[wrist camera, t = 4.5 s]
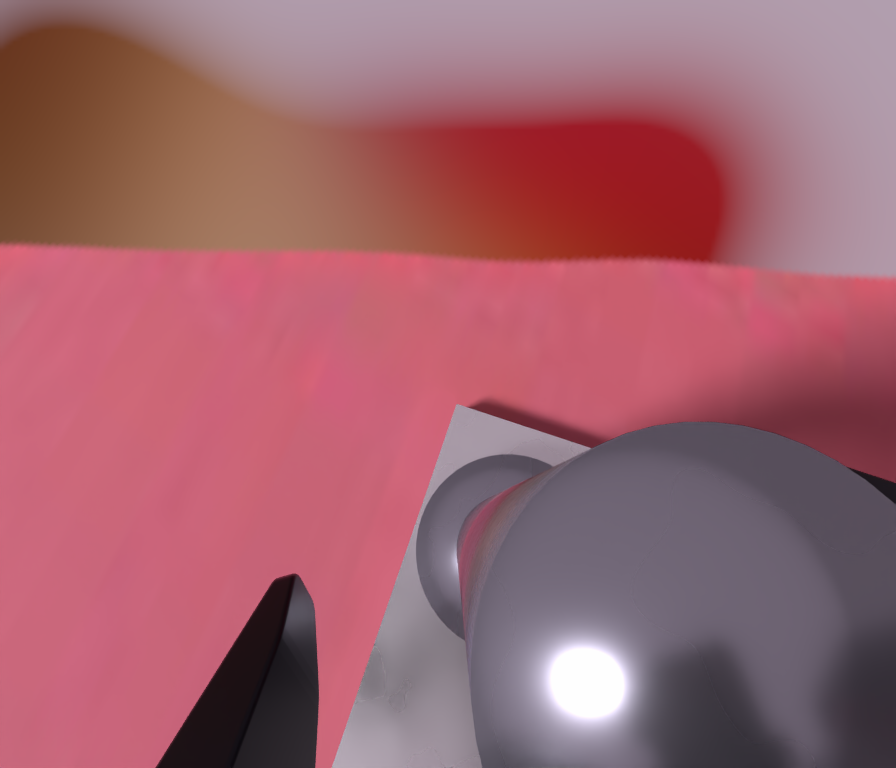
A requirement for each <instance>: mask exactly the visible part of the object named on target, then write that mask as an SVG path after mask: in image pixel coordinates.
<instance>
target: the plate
mask: <svg viewBox="0 0 896 768" xmlns="http://www.w3.org/2000/svg"><path fill="white" fill-rule="evenodd" d="M589 449H591V448H589V447H586V446H583V445H580V444H577V443H574V442H571V441H568V440H565V439H562V438H559V437H556V436H553V435H550V434H547V433H544V432H541V431H538V430H534V429H531V428H528V427H525V426H522V425H519V424H516V423H513V422H510V421H507V420H504V419H501V418H498V417H495V416H492V415H489V414H486V413H483V412H480V411H477V410H474V409H471V408H468V407H464V406H461V405H458V404H457V405H456V408H455V411H454V414H453V416H452V419H451V422H450V425H449V428H448V431H447V434H446V437H445V440H444V443H443V446H442V449H441V451H440V454H439V457H438V460H437V463H436V466H435V469H434V472H433V475H432V478H431V481H430V483H429V486H428V489H427V492H426V495H425V498H424V501H423V504H422V507H421V510H420V513H419V515H418V518H417V521H416V524H415V527H414V530H413V533H412V536H411V539H410V542H409V545H408V547H407V550H406V553H405V556H404V559H403V562H402V565H401V568H400V571H399V574H398V577H397V580H396V582H395V585H394V588H393V591H392V594H391V597H390V600H389V603H388V606H387V609H386V612H385V614H384V617H383V620H382V623H381V626H380V629H379V632H378V635H377V638H376V641H375V644H374V646H373V649H372V652H371V655H370V658H369V661H368V664H367V667H366V670H365V673H364V676H363V678H362V681H361V684H360V687H359V690H358V693H357V696H356V699H355V702H354V705H353V708H352V710H351V713H350V716H349V719H348V722H347V725H346V728H345V731H344V734H343V737H342V740H341V743H340V745H339V748H338V751H337V754H336V757H335V760H334V763H333V766H332V768H482V764H481V760H480V755H479V751H478V747H477V743H476V736H475V728H474V720H473V712H472V704H471V695H470V685H469V675H468V665H467V654H466V644H465V641H464V640H463V639H461V638H460V637H458V636H457V635H456V634H455V633H454V632H452V631H451V630H450V629H449V628H448V627H447V626H446V625H445V624H444V623H443V622H442V621H441V620H440V618H439V617H438V616H437V614H436V613H435V611H434V610H433V609H432V607H431V605H430V603H429V601H428V600H427V598H426V596H425V593H424V591H423V588H422V585H421V583H420V579H419V574H418V570H417V562H416V540H417V533H418V528H419V524H420V521H421V517H422V515H423V512H424V510H425V507H426V505H427V504H428V502H429V500H430V498H431V497H432V495H433V494H434V492H435V491H436V490H437V488H438V487H439V486H440V485H441V484H442V483H443V482H444V481H445V480H446V479H447V478H448V477H449V476H450V475H451V474H452V473H454V472H455V471H456V470H458V469H459V468H461V467H463V466H464V465H466V464H468V463H470V462H473V461H475V460H477V459H480V458H484V457H488V456H493V455H501V454H515V455H522V456H527V457H531V458H535V459H538V460H541V461H543V462H545V463H548V464H550V465H551V466H553V467H554V466H556V465H558V464H560V463H562V462H564V461H566V460H569V459H571V458H573V457H575V456H577V455H579V454H581V453H583V452H585V451H587V450H589Z"/></svg>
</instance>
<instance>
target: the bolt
mask: <svg viewBox="0 0 896 768" xmlns="http://www.w3.org/2000/svg"><path fill="white" fill-rule="evenodd" d="M416 562H417V570H418V574H419V579H420V583H421V585H422V588H423V591H424V593H425V596H426V598H427V600H428V601H429V603H430V605H431V607H432V609H433V610H434V611H435V613H436V614H437V616H438V617H439V618H440V620H441V621H442V622H443V623H444V624H445V625H446V626H447V627H448V628H449V629H450V630H451V631H452V632H454V633H455V634H456V635H457V636H458V637H460V638H461V639H463V640H464V641H465V644H466V654H467V665H468V675H469V685H470V695H471V704H472V712H473V720H474V728H475V736H476V743H477V747H478V751H479V755H480V760H481V764H482V768H896V505H895V504H894V503H893V502H892V501H891V500H890V499H888V498H887V497H886V496H885V495H884V494H882V493H881V492H880V491H879V490H877V489H876V488H875V487H874V486H873V485H871V484H870V483H869V482H868V481H866V480H865V479H864V478H862V477H861V476H859V475H858V474H856V473H854V472H853V471H851V470H850V469H848V468H847V467H845V466H844V465H842V464H841V463H839V462H838V461H836V460H834V459H832V458H830V457H828V456H826V455H824V454H823V453H821V452H819V451H817V450H815V449H813V448H811V447H809V446H807V445H804V444H802V443H799V442H797V441H794V440H791V439H789V438H786V437H783V436H781V435H778V434H775V433H771V432H767V431H763V430H759V429H755V428H751V427H747V426H742V425H734V424H726V423H718V422H679V423H672V424H664V425H657V426H652V427H648V428H644V429H641V430H637V431H633V432H630V433H626V434H623V435H621V436H619V437H616V438H614V439H612V440H609V441H607V442H605V443H602V444H600V445H598V446H596V447H594V448H591V449H589V450H587V451H585V452H583V453H581V454H579V455H577V456H575V457H573V458H571V459H569V460H566V461H564V462H562V463H560V464H558V465H556V466H554V467H553V466H551V465H550V464H548V463H545V462H543V461H541V460H538V459H535V458H531V457H527V456H522V455H515V454H501V455H493V456H488V457H484V458H480V459H477V460H475V461H473V462H470V463H468V464H466V465H464V466H463V467H461V468H459V469H458V470H456V471H455V472H454V473H452V474H451V475H450V476H449V477H448V478H447V479H446V480H445V481H444V482H443V483H442V484H441V485H440V486H439V487H438V488H437V490H436V491H435V492H434V494H433V495H432V497H431V498H430V500H429V502H428V504H427V505H426V507H425V510H424V512H423V515H422V517H421V521H420V524H419V528H418V533H417V540H416Z"/></svg>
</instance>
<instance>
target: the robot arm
mask: <svg viewBox="0 0 896 768" xmlns="http://www.w3.org/2000/svg"><path fill="white" fill-rule="evenodd" d="M847 468H848V467H847ZM848 469H850V470H851V471H853V472H854V473H856V474H858V475H859V476H861V477H862V478H864V479H865V480H866V481H868V482H869V483H870V484H871V485H873V486H874V487H875V488H876V489H877V490H879V491H880V492H881V493H882V494H884V495H885V496H886V497H887V498H888V499H890V500H891V501H892V502H893V503H894V504H895V505H896V483H894V482H891V481H888V480H885V479H882V478H879V477H876V476H873V475H870V474H867V473H864V472H861V471H858V470H855V469H851V468H848ZM318 705H319V685H318V663H317V644H316V624H315V609H314V604H313V600H312V598H311V596H310V594H309V593H308V591H307V589H306V587H305V585H304V583H303V582H302V580H301V578H300V577H299V575H297V574H290V575H286V576H283V577H279V578H277V579H275V580H274V581H273V582H272V584H271V585H270V587H269V588H268V590H267V592H266V593H265V595H264V596H263V598H262V600H261V601H260V603H259V604H258V606H257V607H256V609H255V611H254V612H253V614H252V615H251V617H250V619H249V620H248V622H247V623H246V625H245V627H244V628H243V630H242V631H241V633H240V634H239V636H238V638H237V639H236V641H235V642H234V644H233V646H232V647H231V649H230V650H229V652H228V654H227V655H226V657H225V658H224V660H223V662H222V663H221V665H220V666H219V668H218V669H217V671H216V673H215V674H214V676H213V677H212V679H211V681H210V682H209V684H208V685H207V687H206V689H205V690H204V692H203V693H202V695H201V696H200V698H199V700H198V701H197V703H196V704H195V706H194V708H193V709H192V711H191V712H190V714H189V716H188V717H187V719H186V720H185V722H184V723H183V725H182V727H181V728H180V730H179V731H178V733H177V735H176V736H175V738H174V739H173V741H172V743H171V744H170V746H169V747H168V749H167V751H166V752H165V754H164V755H163V757H162V758H161V760H160V762H159V763H158V765H157V766H156V768H315V762H316V743H317V725H318Z"/></svg>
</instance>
